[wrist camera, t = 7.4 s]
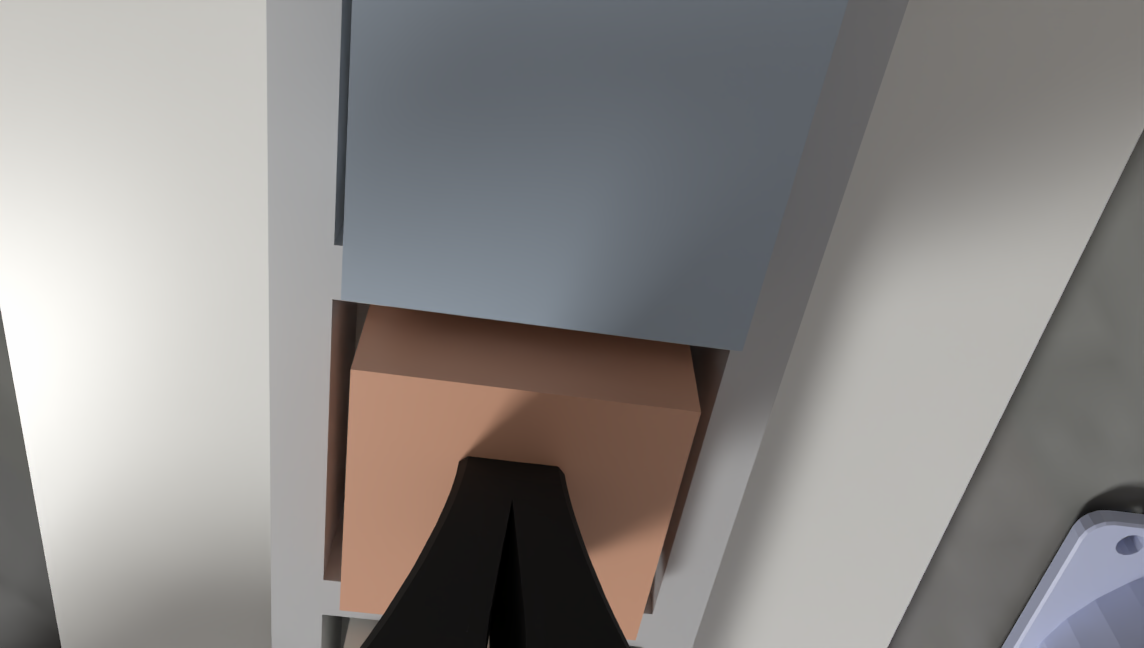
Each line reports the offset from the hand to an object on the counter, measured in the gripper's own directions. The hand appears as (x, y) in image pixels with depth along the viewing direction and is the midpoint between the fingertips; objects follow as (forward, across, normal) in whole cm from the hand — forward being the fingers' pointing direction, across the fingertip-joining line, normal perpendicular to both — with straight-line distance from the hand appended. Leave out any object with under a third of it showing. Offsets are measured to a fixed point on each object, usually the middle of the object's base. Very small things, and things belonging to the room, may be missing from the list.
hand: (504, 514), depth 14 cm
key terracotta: (+2, 0, 0) cm, 2 cm away
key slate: (+1, 0, -6) cm, 6 cm away
